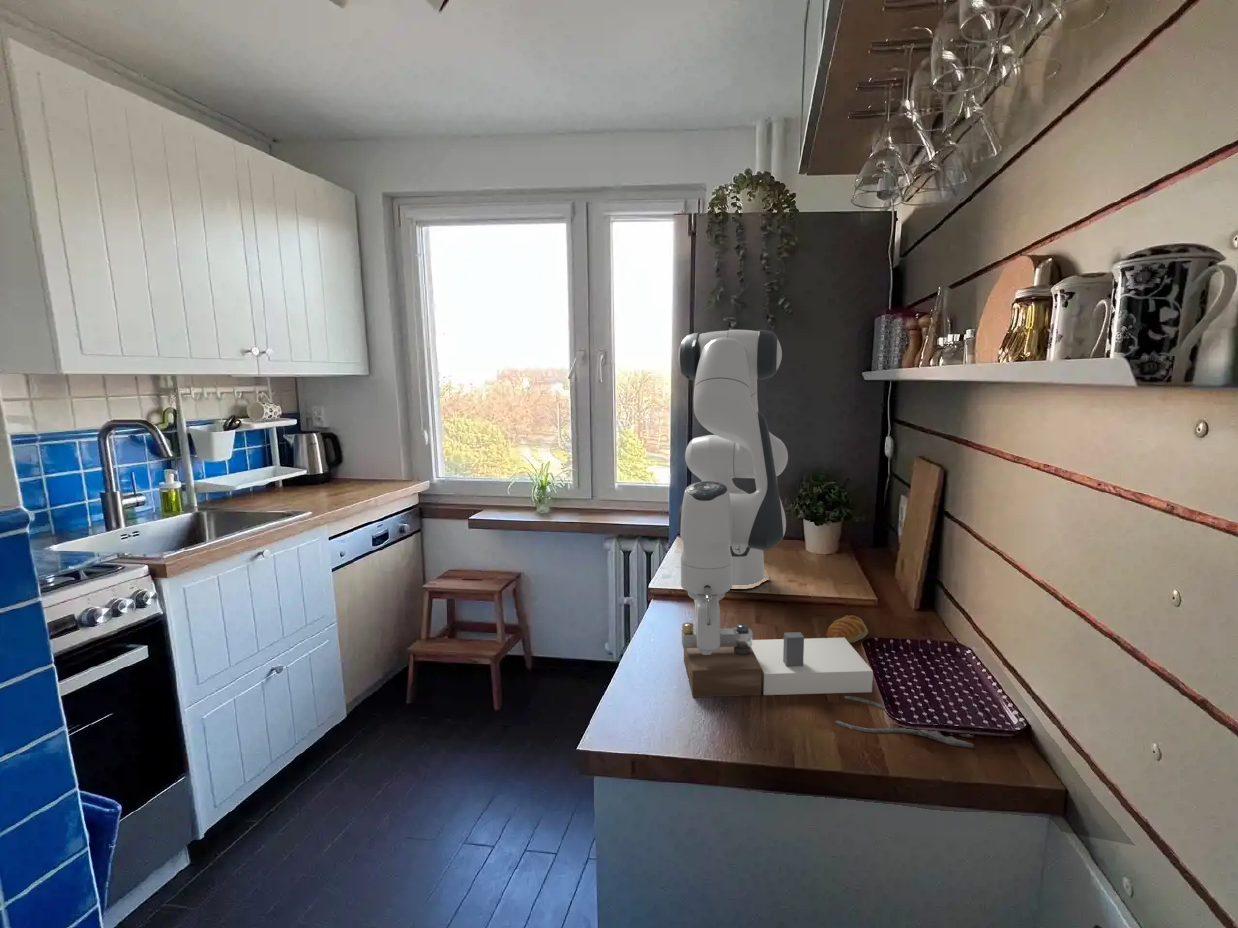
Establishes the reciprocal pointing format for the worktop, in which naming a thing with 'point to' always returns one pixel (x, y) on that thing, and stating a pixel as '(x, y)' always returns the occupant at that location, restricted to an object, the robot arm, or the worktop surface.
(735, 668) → the jamb block
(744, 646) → the lock bar
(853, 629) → the pastry
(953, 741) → the pliers
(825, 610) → the worktop surface
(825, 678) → the door panel
